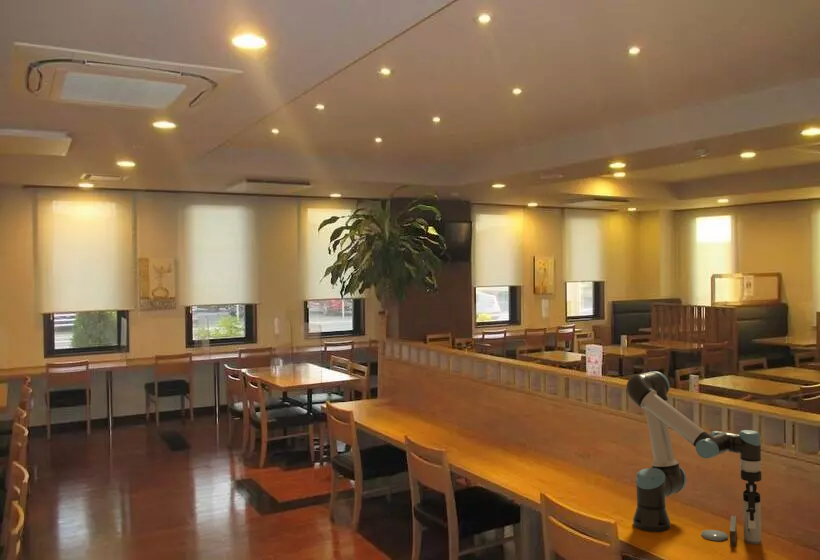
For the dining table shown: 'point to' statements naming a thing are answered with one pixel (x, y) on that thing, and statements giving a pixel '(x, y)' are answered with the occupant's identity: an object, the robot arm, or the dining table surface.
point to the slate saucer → (714, 535)
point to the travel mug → (755, 534)
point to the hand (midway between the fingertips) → (752, 522)
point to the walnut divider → (733, 531)
